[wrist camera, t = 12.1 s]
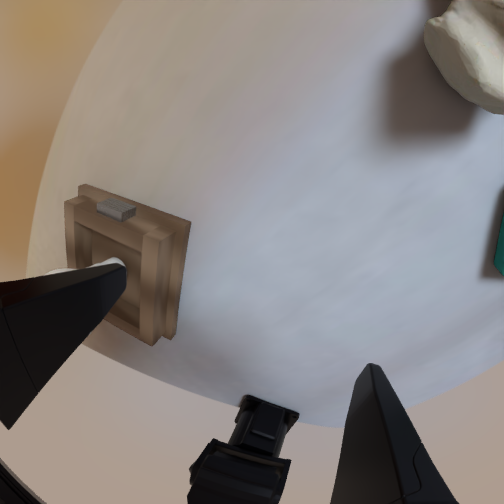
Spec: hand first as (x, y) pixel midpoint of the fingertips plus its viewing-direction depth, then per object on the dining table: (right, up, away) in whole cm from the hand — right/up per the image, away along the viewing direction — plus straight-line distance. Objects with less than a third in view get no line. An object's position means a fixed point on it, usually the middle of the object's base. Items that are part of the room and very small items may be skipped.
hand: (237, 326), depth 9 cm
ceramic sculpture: (+17, +18, +2) cm, 25 cm away
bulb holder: (-12, +2, +18) cm, 22 cm away
